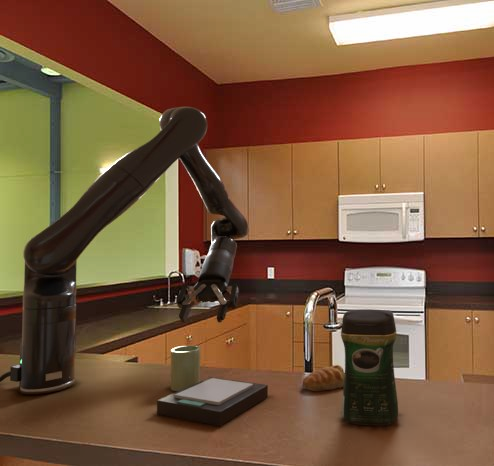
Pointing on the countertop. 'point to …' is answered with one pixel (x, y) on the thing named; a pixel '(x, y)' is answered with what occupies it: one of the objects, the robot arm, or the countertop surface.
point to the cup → (185, 367)
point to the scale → (212, 400)
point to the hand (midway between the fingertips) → (200, 320)
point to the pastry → (325, 378)
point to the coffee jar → (369, 367)
